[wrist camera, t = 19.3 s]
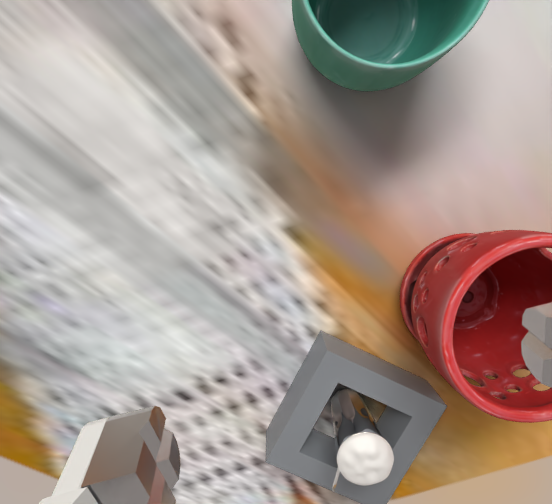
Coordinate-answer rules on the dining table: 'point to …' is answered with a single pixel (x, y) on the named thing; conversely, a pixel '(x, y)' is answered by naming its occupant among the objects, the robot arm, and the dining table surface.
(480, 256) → the plant pot
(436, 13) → the mug
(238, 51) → the dining table surface
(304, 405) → the socket collar
